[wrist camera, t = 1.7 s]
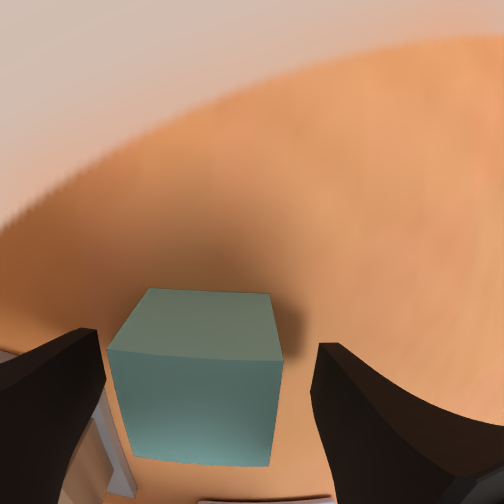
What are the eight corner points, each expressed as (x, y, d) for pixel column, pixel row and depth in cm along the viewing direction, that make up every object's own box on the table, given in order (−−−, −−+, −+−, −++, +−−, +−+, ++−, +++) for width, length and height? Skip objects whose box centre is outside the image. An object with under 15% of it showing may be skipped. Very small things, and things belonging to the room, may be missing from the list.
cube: (261, 386, 11) (268, 466, 8) (158, 380, 11) (133, 455, 7) (268, 292, 10) (283, 360, 7) (149, 287, 10) (106, 348, 6)
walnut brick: (94, 418, 11) (61, 486, 7) (114, 469, 12) (94, 529, 8) (-26, 379, 10) (-65, 420, 7) (-1, 431, 11) (-29, 472, 8)
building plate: (137, 488, 13) (134, 498, 13) (17, 451, 13) (12, 458, 12) (100, 374, 11) (93, 385, 10) (-35, 338, 11) (-43, 345, 10)
